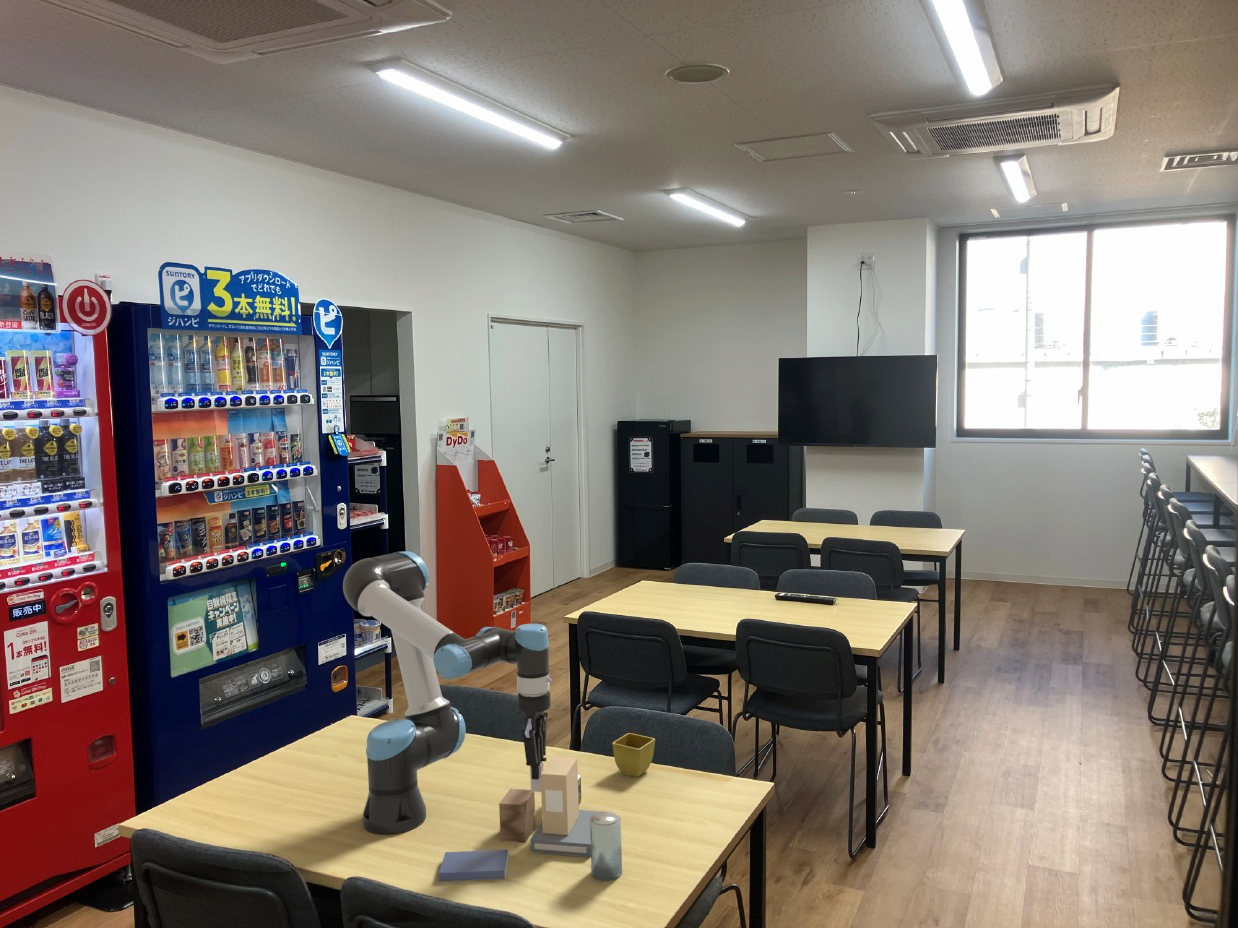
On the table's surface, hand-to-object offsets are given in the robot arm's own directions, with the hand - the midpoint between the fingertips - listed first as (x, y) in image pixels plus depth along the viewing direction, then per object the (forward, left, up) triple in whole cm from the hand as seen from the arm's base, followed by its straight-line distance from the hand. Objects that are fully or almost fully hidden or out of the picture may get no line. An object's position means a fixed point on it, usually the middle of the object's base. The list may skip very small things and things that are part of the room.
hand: (537, 790), depth 215 cm
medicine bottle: (+2, +15, -11) cm, 19 cm away
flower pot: (+15, +38, -11) cm, 43 cm away
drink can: (+19, -14, -11) cm, 26 cm away
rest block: (-5, 0, -11) cm, 12 cm away
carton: (+5, 0, -8) cm, 10 cm away
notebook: (-10, -17, -12) cm, 23 cm away
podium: (+7, 0, -11) cm, 13 cm away
